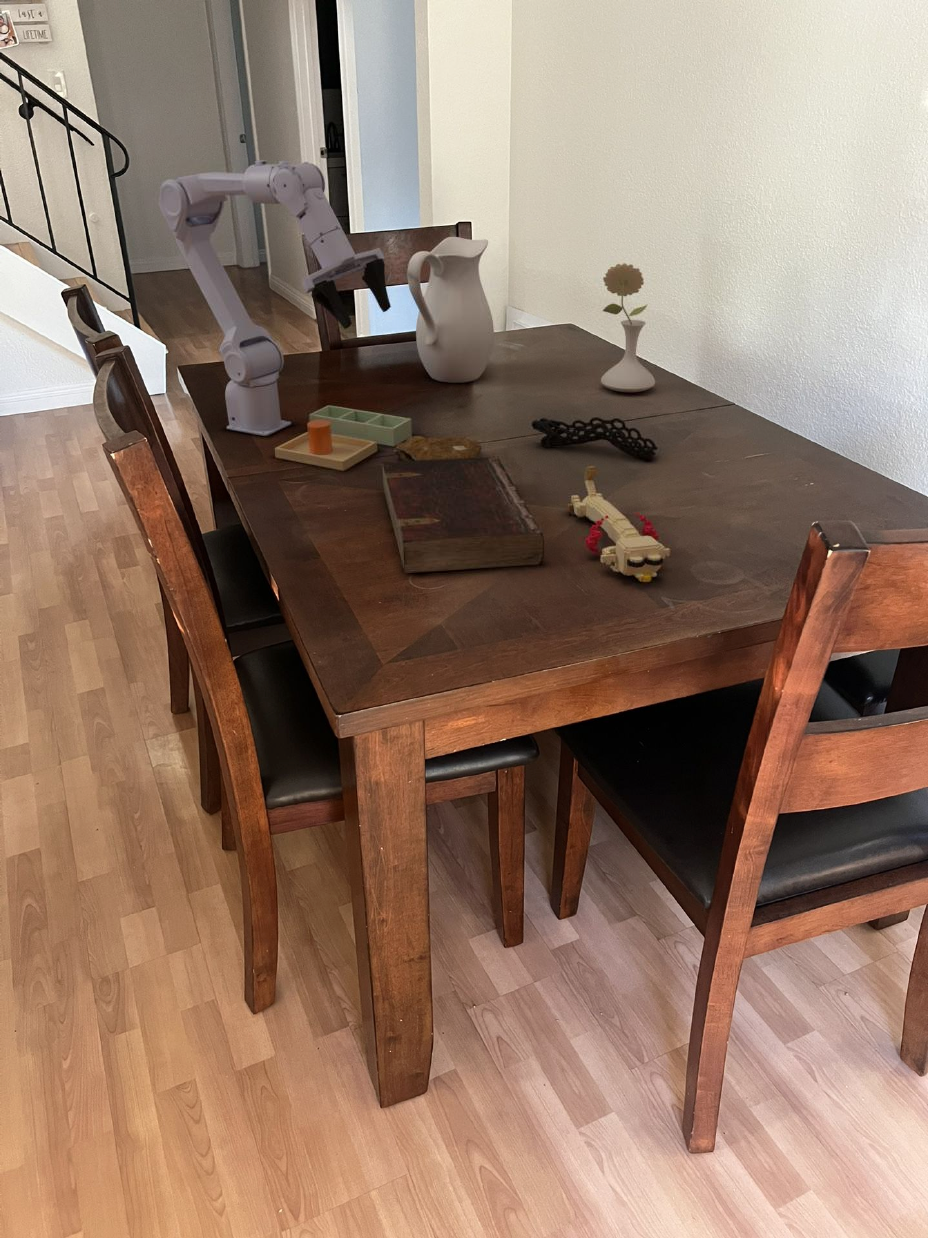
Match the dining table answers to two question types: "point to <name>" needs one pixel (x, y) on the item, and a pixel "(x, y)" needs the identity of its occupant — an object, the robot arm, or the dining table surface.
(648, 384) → the flower in vase
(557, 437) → the decorative element
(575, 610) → the dining table surface
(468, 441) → the decorative rock
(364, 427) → the green compartment tray
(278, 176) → the robot arm
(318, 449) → the orange cylinder
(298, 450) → the birch tray
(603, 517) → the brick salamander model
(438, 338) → the pitcher
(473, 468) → the hardback book
